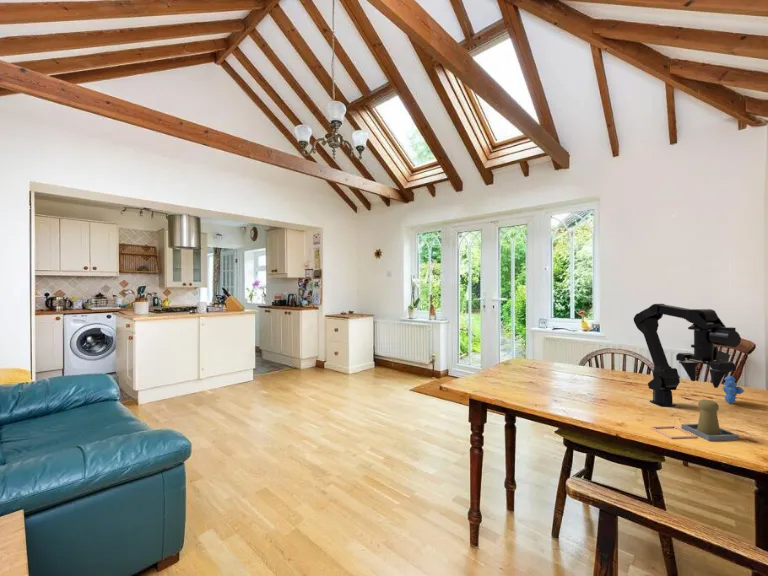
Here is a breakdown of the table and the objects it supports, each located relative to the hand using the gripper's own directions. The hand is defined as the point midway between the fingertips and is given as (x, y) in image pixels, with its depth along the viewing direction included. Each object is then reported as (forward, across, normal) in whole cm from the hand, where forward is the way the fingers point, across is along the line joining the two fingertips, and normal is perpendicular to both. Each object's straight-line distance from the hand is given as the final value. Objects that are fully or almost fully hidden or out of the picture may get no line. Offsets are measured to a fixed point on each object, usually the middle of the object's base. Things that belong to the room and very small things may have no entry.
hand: (704, 384), depth 136 cm
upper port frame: (+13, -11, +22) cm, 28 cm away
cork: (+13, -13, +11) cm, 21 cm away
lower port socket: (+13, -13, +11) cm, 21 cm away
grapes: (+13, +15, -27) cm, 33 cm away
